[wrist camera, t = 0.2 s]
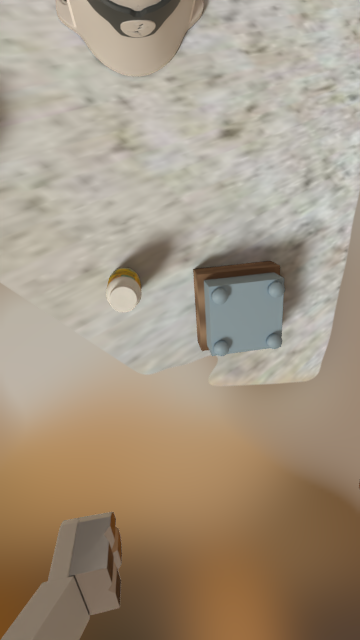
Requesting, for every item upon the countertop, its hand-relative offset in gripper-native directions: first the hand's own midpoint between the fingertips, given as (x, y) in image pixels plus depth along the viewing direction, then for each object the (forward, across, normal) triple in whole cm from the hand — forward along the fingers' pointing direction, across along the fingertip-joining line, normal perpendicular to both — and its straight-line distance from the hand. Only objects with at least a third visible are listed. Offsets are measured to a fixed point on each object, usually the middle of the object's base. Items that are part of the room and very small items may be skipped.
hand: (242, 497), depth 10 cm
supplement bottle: (+47, +6, +5) cm, 48 cm away
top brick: (+43, -13, +12) cm, 46 cm away
